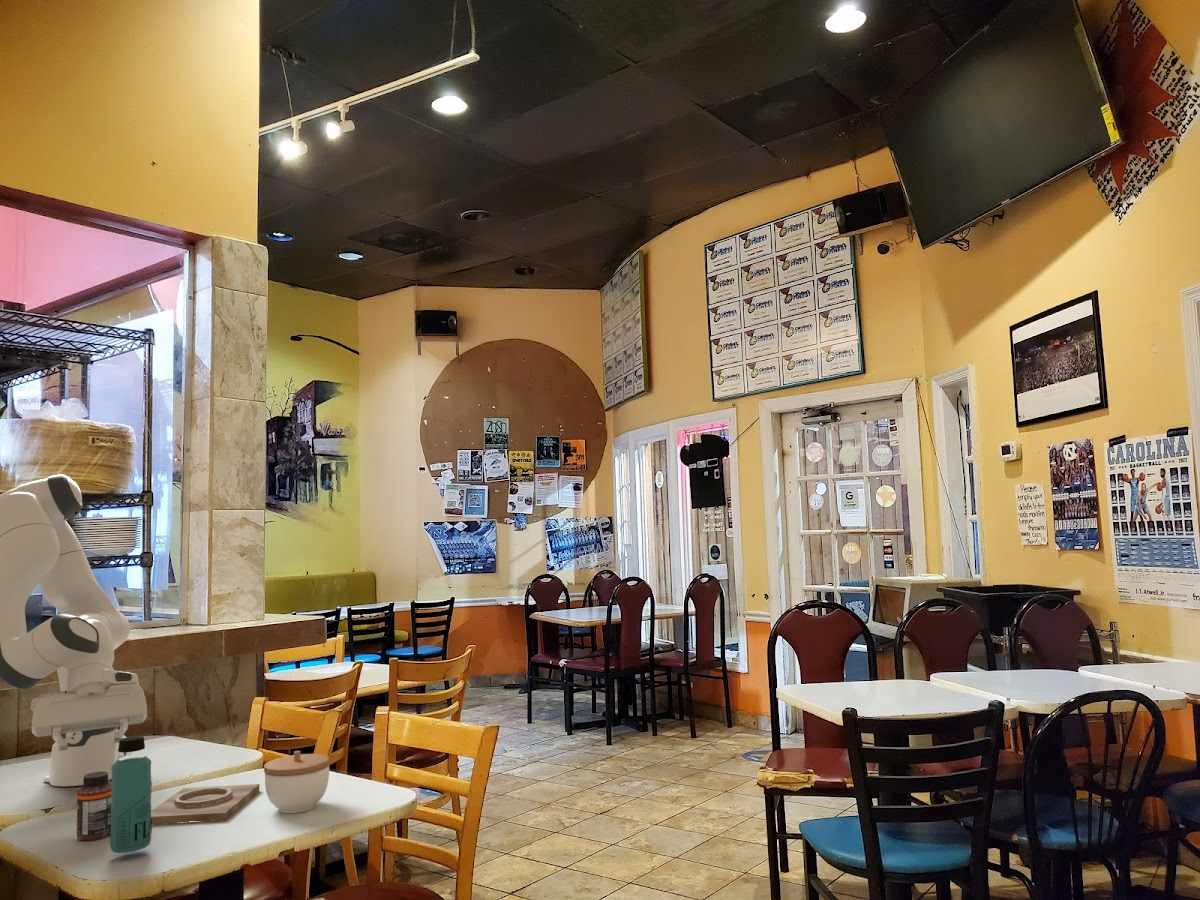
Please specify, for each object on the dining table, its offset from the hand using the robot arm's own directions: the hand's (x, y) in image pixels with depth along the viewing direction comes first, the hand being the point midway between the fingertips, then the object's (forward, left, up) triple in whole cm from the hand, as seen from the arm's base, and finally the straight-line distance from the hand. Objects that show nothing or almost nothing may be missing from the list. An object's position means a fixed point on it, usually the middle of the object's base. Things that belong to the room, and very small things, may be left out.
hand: (91, 745), depth 173 cm
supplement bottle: (+9, +6, -15) cm, 18 cm away
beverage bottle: (+21, +18, -15) cm, 31 cm away
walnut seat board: (-6, +20, -15) cm, 25 cm away
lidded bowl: (-2, +40, -15) cm, 42 cm away
